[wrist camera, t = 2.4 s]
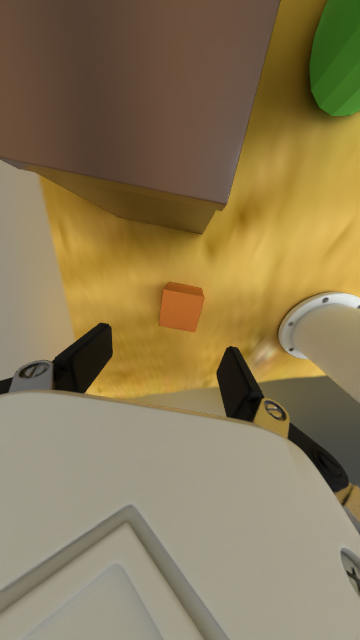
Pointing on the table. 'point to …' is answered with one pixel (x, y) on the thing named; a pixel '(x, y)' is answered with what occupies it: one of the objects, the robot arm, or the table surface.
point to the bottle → (337, 58)
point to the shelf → (133, 99)
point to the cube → (181, 306)
